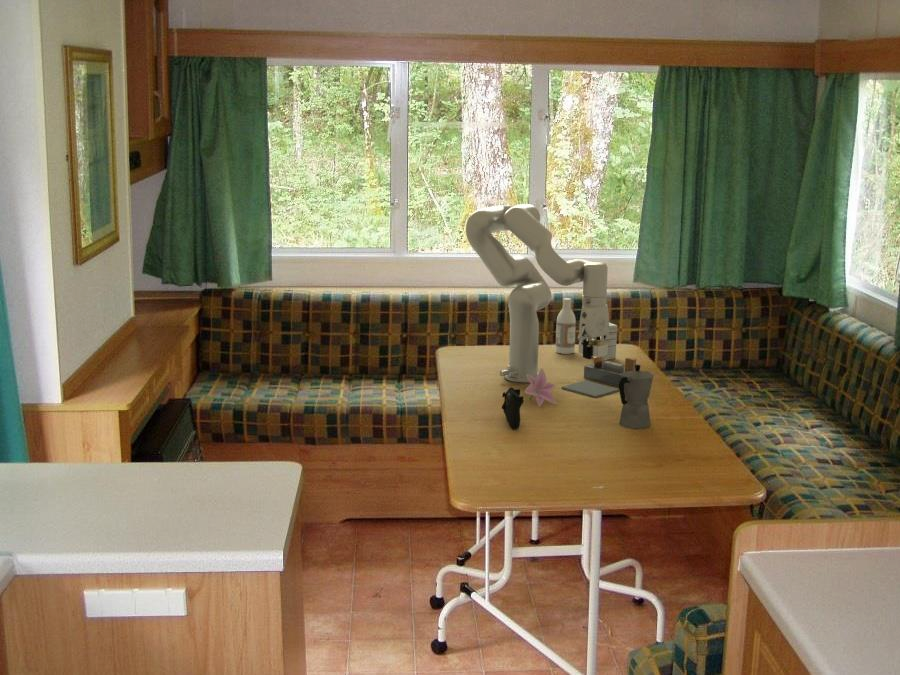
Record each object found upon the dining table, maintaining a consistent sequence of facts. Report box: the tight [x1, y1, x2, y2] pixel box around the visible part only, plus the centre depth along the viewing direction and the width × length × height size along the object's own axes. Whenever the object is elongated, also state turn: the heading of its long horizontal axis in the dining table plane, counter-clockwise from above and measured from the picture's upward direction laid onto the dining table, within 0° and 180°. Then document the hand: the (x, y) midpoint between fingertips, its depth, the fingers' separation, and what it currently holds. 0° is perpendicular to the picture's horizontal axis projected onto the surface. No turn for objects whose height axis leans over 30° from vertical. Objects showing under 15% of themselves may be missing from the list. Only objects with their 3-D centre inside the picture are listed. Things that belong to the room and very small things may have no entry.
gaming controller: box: [501, 387, 525, 430], centre depth 325 cm, size 14×6×10 cm, turn 4°
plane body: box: [583, 356, 637, 388], centre depth 371 cm, size 8×18×9 cm, turn 44°
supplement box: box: [592, 321, 618, 361], centre depth 401 cm, size 7×7×13 cm
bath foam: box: [555, 297, 577, 355], centre depth 408 cm, size 7×7×20 cm
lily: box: [524, 367, 557, 408], centre depth 346 cm, size 12×12×10 cm
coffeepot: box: [618, 364, 654, 430], centre depth 324 cm, size 15×9×18 cm, turn 137°
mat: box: [561, 379, 620, 399], centre depth 362 cm, size 12×14×1 cm
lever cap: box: [578, 339, 608, 357], centre depth 358 cm, size 5×8×5 cm, turn 44°
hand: (592, 356), depth 359 cm, fingers closed on lever cap, 4 cm apart
